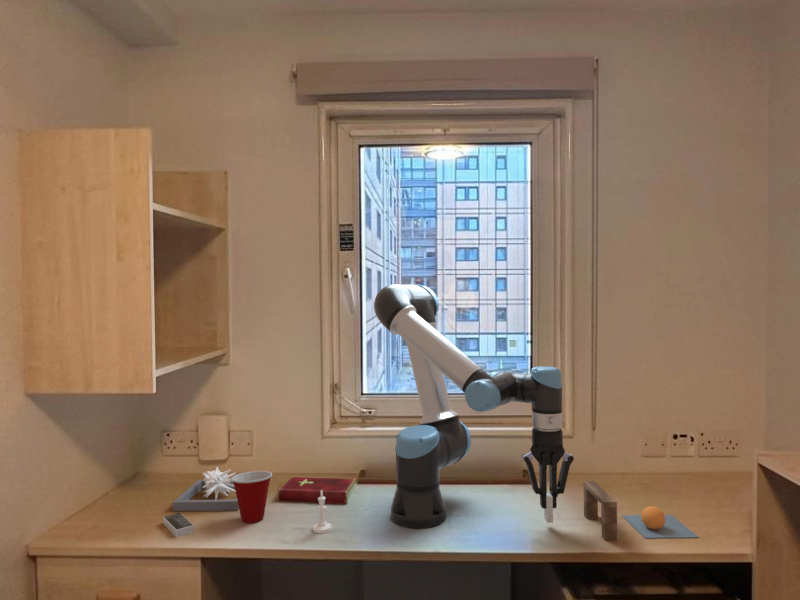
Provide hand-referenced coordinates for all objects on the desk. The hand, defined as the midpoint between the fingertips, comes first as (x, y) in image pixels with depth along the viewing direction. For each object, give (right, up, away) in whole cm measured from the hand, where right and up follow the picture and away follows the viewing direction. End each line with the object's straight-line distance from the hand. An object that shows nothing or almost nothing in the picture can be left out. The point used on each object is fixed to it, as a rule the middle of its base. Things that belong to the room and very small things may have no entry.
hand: (548, 520), depth 133 cm
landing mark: (+28, -2, 0) cm, 28 cm away
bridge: (+13, -2, 0) cm, 13 cm away
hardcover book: (-63, -4, +25) cm, 68 cm away
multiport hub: (-96, -4, +3) cm, 96 cm away
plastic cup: (-78, -3, +8) cm, 78 cm away
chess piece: (-58, -3, +1) cm, 58 cm away
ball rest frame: (-93, -3, +24) cm, 96 cm away
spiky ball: (-92, -4, +26) cm, 96 cm away
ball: (+26, +1, -1) cm, 26 cm away
